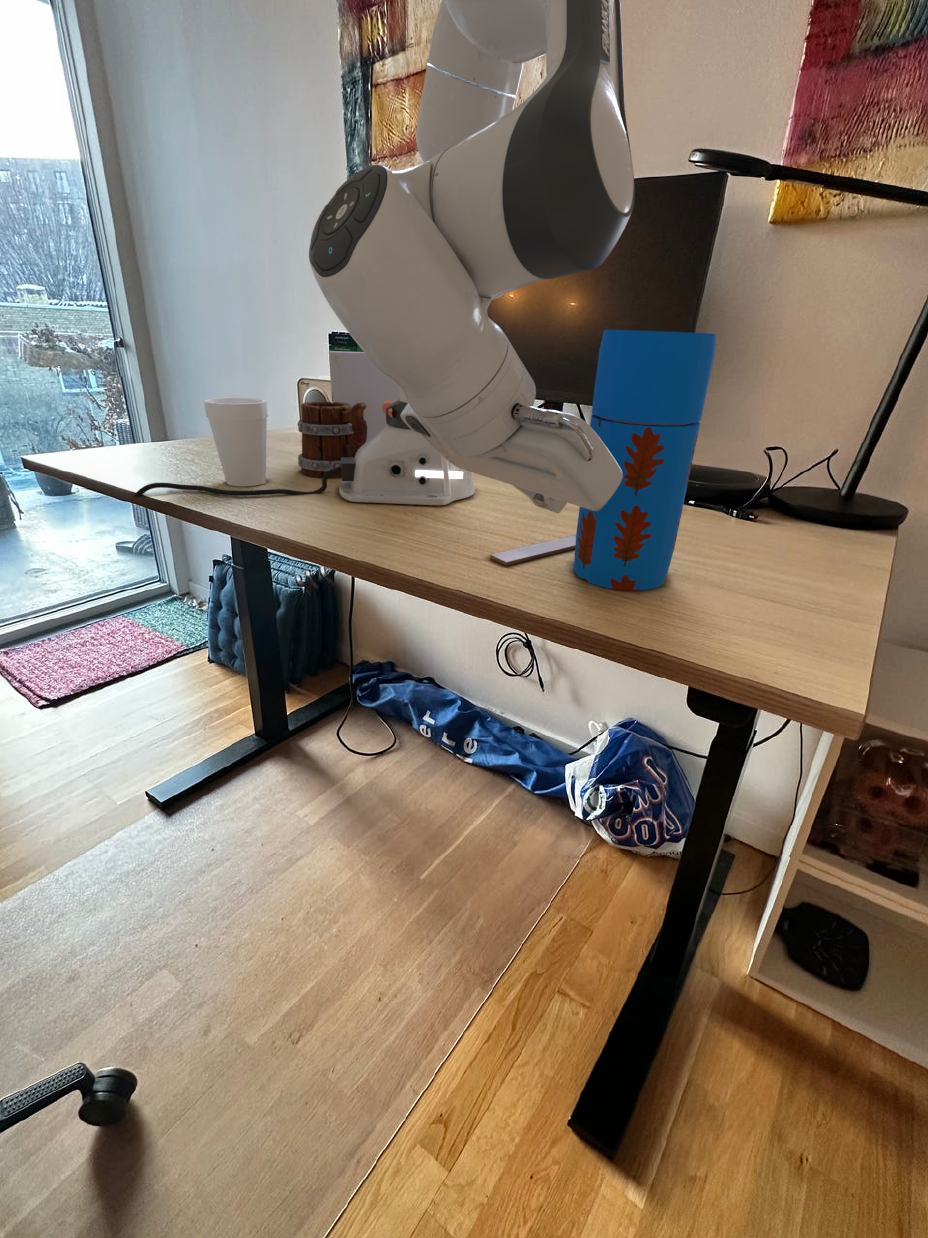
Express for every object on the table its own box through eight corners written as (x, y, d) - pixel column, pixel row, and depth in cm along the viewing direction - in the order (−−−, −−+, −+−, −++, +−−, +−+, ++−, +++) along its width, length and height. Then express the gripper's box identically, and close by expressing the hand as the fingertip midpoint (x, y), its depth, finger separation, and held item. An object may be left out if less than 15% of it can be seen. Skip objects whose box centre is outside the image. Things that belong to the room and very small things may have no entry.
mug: (328, 459, 116) (333, 381, 108) (381, 483, 110) (390, 402, 102) (281, 468, 107) (282, 383, 99) (336, 495, 101) (343, 407, 93)
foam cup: (234, 474, 103) (223, 396, 97) (284, 477, 102) (276, 399, 96) (205, 486, 95) (192, 402, 89) (259, 490, 94) (249, 405, 88)
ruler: (506, 566, 68) (506, 562, 67) (489, 558, 70) (490, 554, 70) (663, 526, 84) (663, 523, 84) (646, 521, 86) (646, 518, 86)
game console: (467, 458, 124) (471, 356, 115) (337, 460, 117) (331, 351, 108) (459, 452, 129) (463, 354, 120) (335, 455, 122) (328, 350, 113)
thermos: (672, 596, 61) (728, 333, 50) (570, 585, 63) (602, 329, 52) (661, 561, 71) (707, 334, 60) (573, 552, 73) (601, 330, 62)
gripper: (599, 380, 39) (661, 503, 49) (430, 362, 54) (504, 460, 63) (545, 453, 39) (618, 563, 48) (390, 415, 53) (470, 505, 63)
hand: (552, 504), depth 56 cm, fingers closed
